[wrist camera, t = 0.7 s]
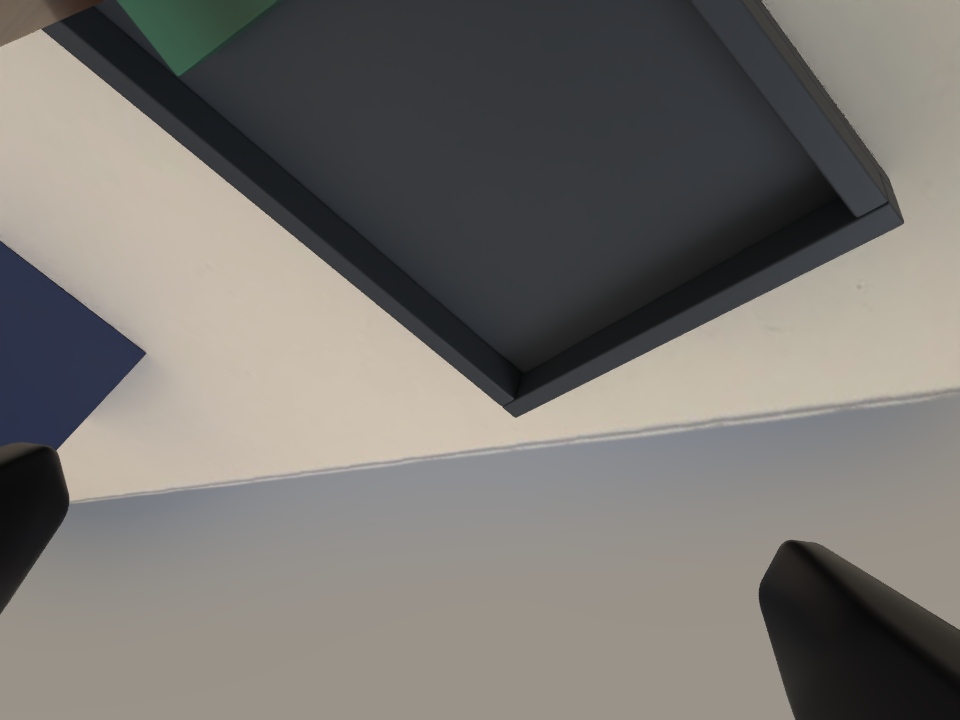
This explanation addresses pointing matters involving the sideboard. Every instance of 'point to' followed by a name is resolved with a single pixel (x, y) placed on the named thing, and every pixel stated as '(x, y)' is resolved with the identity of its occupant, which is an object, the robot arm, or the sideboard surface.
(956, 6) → the sideboard surface
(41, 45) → the sideboard surface
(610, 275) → the tray
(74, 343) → the phone stand
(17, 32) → the brown post on base
